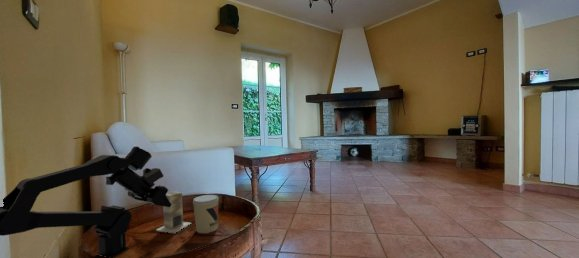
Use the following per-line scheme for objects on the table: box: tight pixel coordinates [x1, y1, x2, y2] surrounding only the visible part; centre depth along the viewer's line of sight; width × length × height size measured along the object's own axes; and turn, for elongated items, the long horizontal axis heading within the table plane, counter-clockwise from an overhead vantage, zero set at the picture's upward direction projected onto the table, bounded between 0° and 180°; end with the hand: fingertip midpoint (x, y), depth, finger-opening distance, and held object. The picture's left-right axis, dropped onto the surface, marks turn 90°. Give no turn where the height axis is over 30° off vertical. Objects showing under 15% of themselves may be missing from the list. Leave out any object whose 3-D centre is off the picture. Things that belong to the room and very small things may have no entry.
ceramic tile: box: [155, 221, 192, 234], centre depth 99 cm, size 9×9×1 cm
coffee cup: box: [192, 194, 220, 234], centre depth 96 cm, size 9×9×12 cm
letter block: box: [162, 190, 184, 230], centre depth 99 cm, size 5×5×13 cm
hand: (163, 204), depth 96 cm, fingers open, 9 cm apart
